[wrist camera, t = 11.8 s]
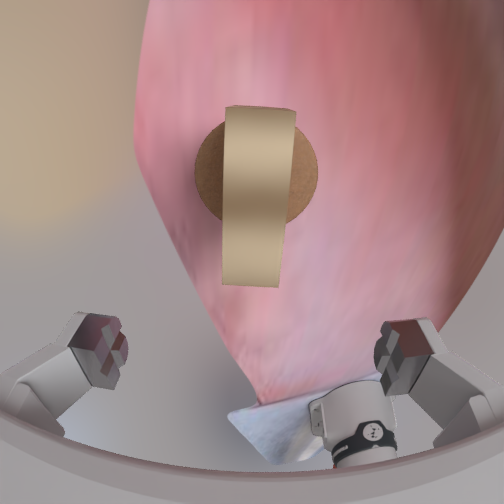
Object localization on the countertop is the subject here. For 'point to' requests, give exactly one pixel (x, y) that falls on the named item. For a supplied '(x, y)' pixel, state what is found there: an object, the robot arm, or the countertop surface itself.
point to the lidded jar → (212, 169)
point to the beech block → (255, 193)
